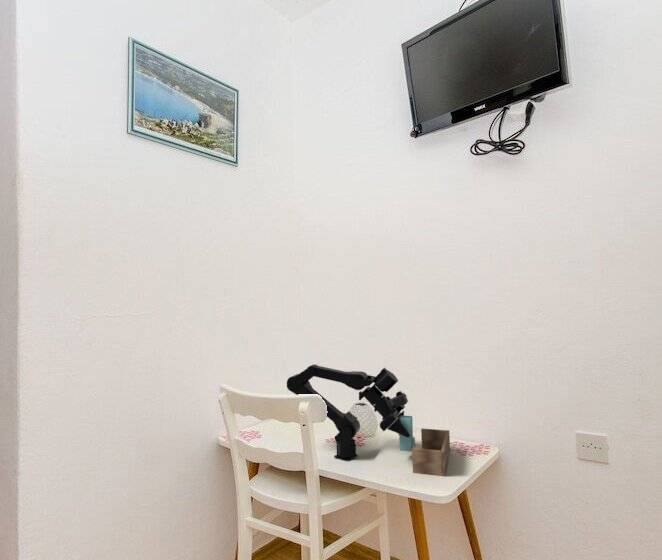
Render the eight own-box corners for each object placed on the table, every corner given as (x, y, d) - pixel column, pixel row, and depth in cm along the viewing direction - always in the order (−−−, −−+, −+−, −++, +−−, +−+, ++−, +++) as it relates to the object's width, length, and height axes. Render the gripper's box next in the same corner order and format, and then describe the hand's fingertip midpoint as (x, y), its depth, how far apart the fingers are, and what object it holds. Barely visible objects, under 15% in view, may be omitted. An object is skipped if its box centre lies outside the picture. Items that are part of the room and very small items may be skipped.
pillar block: (399, 450, 146) (398, 418, 147) (401, 446, 150) (401, 415, 150) (411, 451, 145) (410, 419, 145) (413, 447, 148) (412, 416, 149)
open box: (413, 477, 135) (412, 449, 135) (422, 452, 156) (421, 428, 157) (445, 481, 131) (444, 452, 132) (450, 455, 153) (449, 430, 154)
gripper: (388, 390, 141) (422, 427, 137) (398, 380, 158) (429, 412, 154) (366, 413, 143) (399, 449, 139) (378, 400, 161) (408, 432, 156)
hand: (410, 434), depth 147 cm, fingers closed on pillar block, 4 cm apart
